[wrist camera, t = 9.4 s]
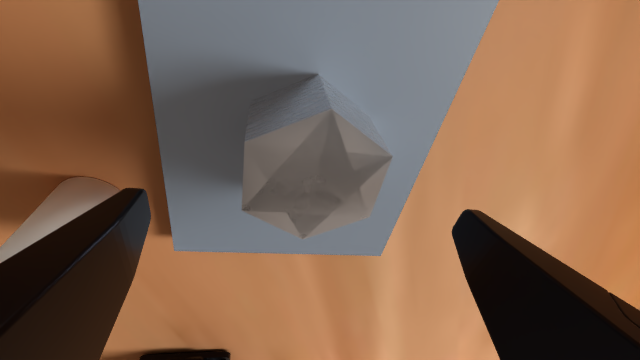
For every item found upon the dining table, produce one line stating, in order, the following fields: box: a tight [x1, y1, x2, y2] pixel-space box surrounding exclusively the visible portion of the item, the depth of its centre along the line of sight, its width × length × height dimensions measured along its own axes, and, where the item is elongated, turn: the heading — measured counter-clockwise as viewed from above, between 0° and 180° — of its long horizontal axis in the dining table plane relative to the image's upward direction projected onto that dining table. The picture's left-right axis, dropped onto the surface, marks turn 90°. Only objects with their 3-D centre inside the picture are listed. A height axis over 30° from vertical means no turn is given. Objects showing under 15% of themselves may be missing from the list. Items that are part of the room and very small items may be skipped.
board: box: [138, 0, 499, 256], centre depth 12 cm, size 14×11×1 cm
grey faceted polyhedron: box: [242, 74, 393, 239], centre depth 11 cm, size 5×4×3 cm
